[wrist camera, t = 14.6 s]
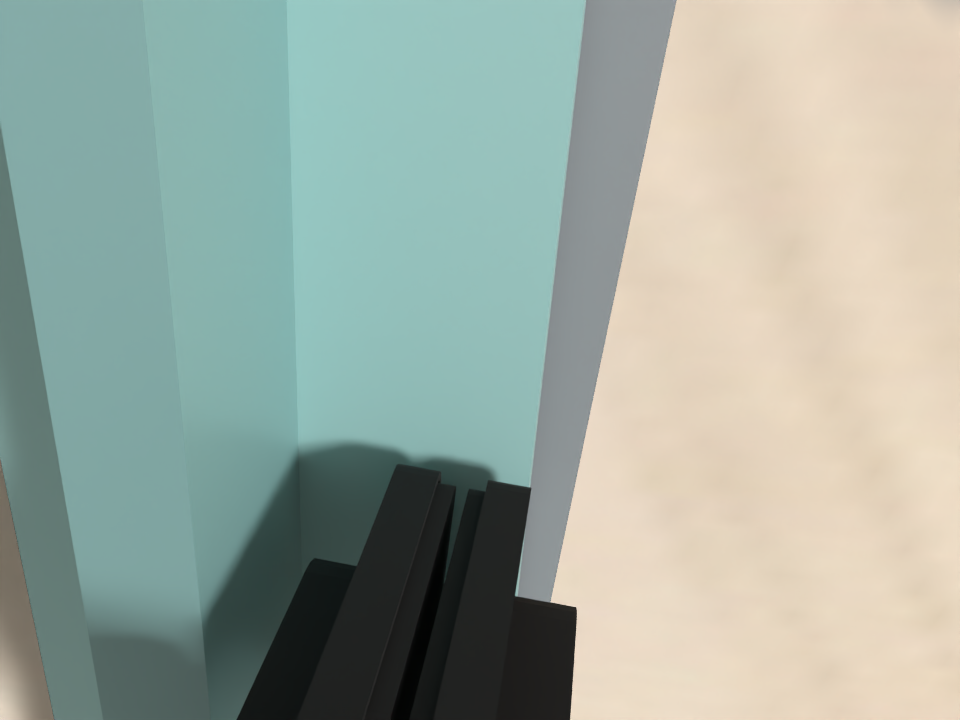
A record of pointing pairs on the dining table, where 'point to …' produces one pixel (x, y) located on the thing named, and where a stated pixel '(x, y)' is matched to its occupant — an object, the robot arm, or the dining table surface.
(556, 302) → the grey frame
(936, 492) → the dining table surface
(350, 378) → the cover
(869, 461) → the dining table surface
